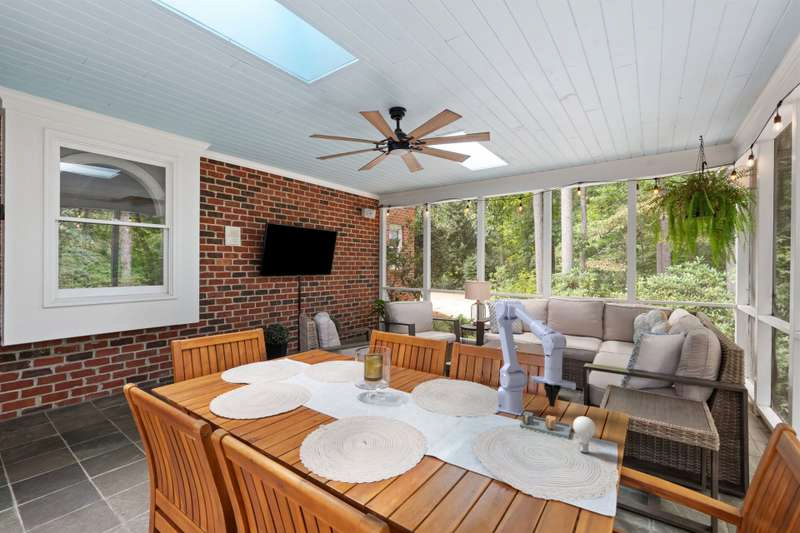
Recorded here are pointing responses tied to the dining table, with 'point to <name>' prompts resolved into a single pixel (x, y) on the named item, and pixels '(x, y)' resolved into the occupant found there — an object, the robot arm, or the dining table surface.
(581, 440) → the lightbulb
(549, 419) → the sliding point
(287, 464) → the dining table surface
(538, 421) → the gauge board
